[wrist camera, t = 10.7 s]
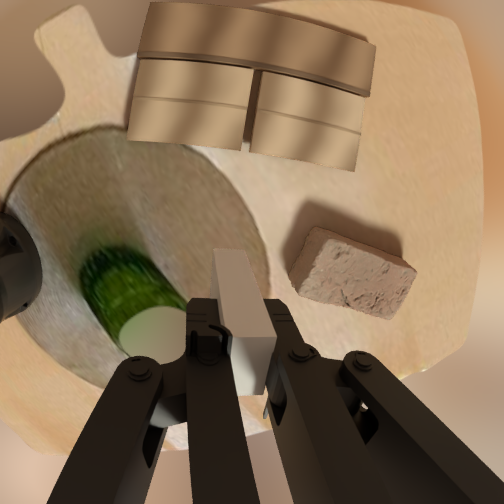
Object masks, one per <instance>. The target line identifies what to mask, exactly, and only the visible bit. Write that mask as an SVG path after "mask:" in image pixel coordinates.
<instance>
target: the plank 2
mask: <svg viewBox="0 0 504 504" xmlns="http://www.w3.org/2000/svg"><path fill="white" fill-rule="evenodd" d="M364 106H365V98H363V97H360V96H357V95H354V94H351V93H348V92H345V91H341V90H338V89H335V88H331V87H328V86H324V85H320V84H317V83H313V82H309V81H305V80H301V79H297V78H293V77H288V76H284V75H279V74H274V73H269V72H264V71H263V73H262V74H261V80H260V86H259V92H258V98H257V104H256V110H255V116H254V122H253V129H252V135H251V141H250V148H249V152H251V153H258V154H264V155H270V156H276V157H282V158H288V159H293V160H299V161H304V162H309V163H314V164H319V165H324V166H328V167H333V168H338V169H342V170H347V171H351V172H355V166H356V160H357V154H358V148H359V141H360V136H361V128H362V121H363V113H364Z"/></svg>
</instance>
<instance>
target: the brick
mask: <svg viewBox="0 0 504 504" xmlns="http://www.w3.org/2000/svg"><path fill="white" fill-rule="evenodd" d="M417 274H418V273H417V271H416V270H415V269H414V268H412V267H411V266H410V265H409V264H408V263H407V262H406V261H404V260H403V259H402V258H400V257H397V256H394V255H392V254H388V253H386V252H385V251H382V250H379V249H376V248H374V247H371V246H369V245H365V244H363V243H359V242H356V241H354V240H352V239H349V238H345V237H343V236H341V235H339V234H337V233H335V232H333V231H330V230H325V229H323V228H319V227H313V229H312V230H311V231H310V233H309V235H308V236H307V237H306V240H305V244H304V246H303V249H302V251H301V252H300V255H299V257H298V258H297V259H296V262H295V263H294V264H293V266H292V268H291V271H290V273H289V280H290V281H291V284H292V287H294V288H295V290H296V292H297V293H298V295H299V296H301V297H304V298H308V299H311V300H314V301H317V302H320V303H324V304H333V305H336V306H343V307H346V308H352V309H354V310H356V311H360V312H361V311H362V312H364V313H365V314H369V315H372V316H375V317H379V318H383V319H386V320H390V319H392V318H393V317H394V316H395V314H396V313H397V311H398V310H399V309H400V307H401V305H402V303H403V301H404V300H405V298H406V296H407V295H408V292H409V290H410V288H411V285H412V283H413V281H414V279H415V277H416V276H417Z"/></svg>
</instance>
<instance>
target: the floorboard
mask: <svg viewBox="0 0 504 504" xmlns="http://www.w3.org/2000/svg"><path fill="white" fill-rule="evenodd" d="M375 53H376V46H375V45H373V44H370V43H368V42H365V41H363V40H360V39H357V38H355V37H352V36H349V35H346V34H344V33H341V32H338V31H335V30H332V29H329V28H325V27H322V26H319V25H315V24H312V23H308V22H305V21H301V20H297V19H293V18H289V17H284V16H280V15H275V14H271V13H266V12H260V11H255V10H249V9H243V8H235V7H228V6H220V5H210V4H198V3H179V2H150V6H149V9H148V13H147V17H146V21H145V24H144V28H143V32H142V36H141V40H140V45H139V50H138V53H137V57H138V58H139V59H156V60H177V61H191V62H202V63H212V64H220V65H228V66H235V67H242V68H248V69H254V70H260V71H265V72H270V73H275V74H280V75H285V76H289V77H293V78H298V79H302V80H306V81H310V82H314V83H318V84H321V85H325V86H328V87H332V88H335V89H339V90H342V91H345V92H348V93H352V94H355V95H358V96H361V97H369V96H370V89H371V83H372V76H373V68H374V61H375Z"/></svg>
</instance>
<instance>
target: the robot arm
mask: <svg viewBox="0 0 504 504" xmlns="http://www.w3.org/2000/svg"><path fill="white" fill-rule="evenodd" d="M41 286H42V267H41V262H40V258H39V255H38V252H37V249H36V247H35V245H34V243H33V241H32V239H31V237H30V236H29V234H28V233H27V231H26V230H25V229H24V228H23V226H22V225H21V224H20V223H19V222H18V221H16V220H15V219H14V218H13V217H11V216H9V215H7V214H5V213H2V212H0V323H1V322H2V321H4V320H6V319H8V318H10V317H12V316H14V315H16V314H18V313H20V312H22V311H24V310H26V309H27V308H28V307H29V306H30V305H31V304H32V303H33V301H34V300H35V299H36V298H37V296H38V294H39V292H40V289H41ZM265 386H266V388H267V391H268V398H267V402H266V406H265V409H264V413H263V419H266V418H267V414H268V413H269V417H270V421H271V424H272V428H273V432H274V435H275V439H276V443H277V446H278V450H279V453H280V457H281V460H282V464H283V467H284V471H285V475H286V478H287V481H288V485H289V488H290V492H291V495H292V499H293V502H294V504H504V482H503V481H502V480H501V479H500V478H499V477H498V476H496V475H495V473H493V471H491V469H490V468H489V467H487V466H486V465H485V463H483V462H482V461H481V460H480V459H479V458H478V457H477V456H476V455H475V454H474V453H473V452H472V451H471V450H470V449H469V448H468V447H467V446H466V445H465V444H464V443H463V442H462V441H461V440H460V439H459V438H458V437H457V436H456V435H455V434H454V433H453V432H452V431H451V430H450V429H449V428H448V427H447V426H446V425H445V424H444V423H443V422H442V421H441V420H440V419H439V418H438V417H437V416H436V415H435V414H434V413H433V412H432V411H430V409H429V408H427V407H426V406H425V405H424V404H423V403H422V402H421V401H420V400H419V399H418V398H417V397H416V396H415V395H414V394H413V393H412V392H411V391H410V390H409V389H408V388H407V387H406V386H405V385H404V384H402V382H401V381H400V380H399V379H398V378H397V377H395V376H394V375H393V374H392V373H391V372H390V371H389V370H388V369H387V368H386V367H385V366H384V365H383V364H382V363H381V362H380V361H379V360H378V359H377V358H376V357H374V356H373V355H371V354H369V353H367V352H364V351H351V352H349V353H347V354H346V355H345V357H344V359H343V361H342V360H334V359H328V358H324V357H321V356H320V354H319V352H318V351H317V350H316V348H314V347H313V346H311V345H309V344H306V343H305V342H304V340H303V338H302V336H301V334H300V332H299V330H298V328H297V326H296V324H295V322H294V319H293V317H292V315H291V313H290V311H289V309H288V307H287V306H286V305H285V304H284V303H283V302H282V301H281V300H279V299H263V298H262V295H261V293H260V290H259V287H258V285H257V282H256V279H255V277H254V274H253V271H252V269H251V266H250V263H249V261H248V258H247V255H246V252H245V250H241V249H222V248H213V261H212V273H211V287H210V298H192V299H191V300H190V301H189V302H188V304H187V311H186V349H185V352H184V354H183V355H182V356H181V357H180V358H179V359H177V360H175V361H173V362H170V363H167V364H161V365H160V364H159V363H157V362H156V361H155V360H154V359H151V358H149V357H144V356H134V357H130V358H128V359H125V360H123V361H122V362H121V363H120V365H119V366H118V367H117V369H116V371H115V372H114V374H113V376H112V377H111V379H110V381H109V383H108V385H107V386H106V388H105V390H104V392H103V393H102V395H101V397H100V399H99V401H98V402H97V404H96V406H95V408H94V410H93V411H92V413H91V415H90V417H89V419H88V421H87V423H86V424H85V426H84V428H83V430H82V432H81V434H80V436H79V438H78V440H77V442H76V444H75V445H74V447H73V449H72V451H71V453H70V455H69V457H68V459H67V461H66V463H65V465H64V467H63V470H62V472H61V474H60V476H59V478H58V480H57V482H56V484H55V486H54V488H53V490H52V493H51V495H50V497H49V499H48V501H47V504H144V503H145V499H146V496H147V492H148V489H149V486H150V483H151V480H152V476H153V473H154V470H155V467H156V464H157V460H158V457H159V454H160V451H161V448H162V445H163V441H164V438H165V435H166V432H167V429H168V426H172V425H176V424H180V423H184V422H187V427H188V446H189V461H190V474H191V487H192V498H193V504H260V500H259V496H258V492H257V488H256V483H255V479H254V474H253V470H252V465H251V460H250V456H249V451H248V446H247V441H246V437H245V432H244V427H243V422H242V417H241V411H240V406H239V401H238V396H246V395H263V394H264V390H265ZM363 403H364V404H365V405H366V406H367V407H368V409H365V408H363V407H362V406H361V405H362V404H363Z"/></svg>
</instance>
